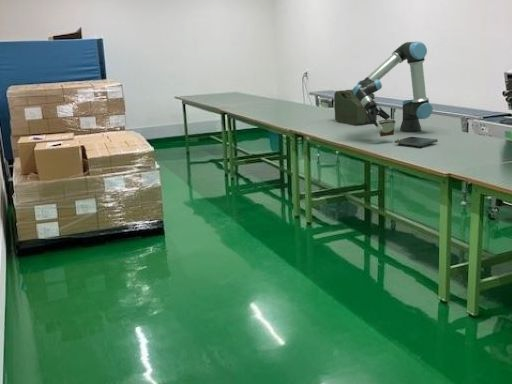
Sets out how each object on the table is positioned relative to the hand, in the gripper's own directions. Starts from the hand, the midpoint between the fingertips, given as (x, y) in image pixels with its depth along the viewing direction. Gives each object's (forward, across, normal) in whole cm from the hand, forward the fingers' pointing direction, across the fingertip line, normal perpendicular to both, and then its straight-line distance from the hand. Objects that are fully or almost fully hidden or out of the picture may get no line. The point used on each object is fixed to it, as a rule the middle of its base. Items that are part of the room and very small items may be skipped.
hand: (386, 128), depth 357 cm
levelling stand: (+21, -5, +6) cm, 22 cm away
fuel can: (-49, -58, -65) cm, 100 cm away
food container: (+2, -1, -5) cm, 6 cm away
